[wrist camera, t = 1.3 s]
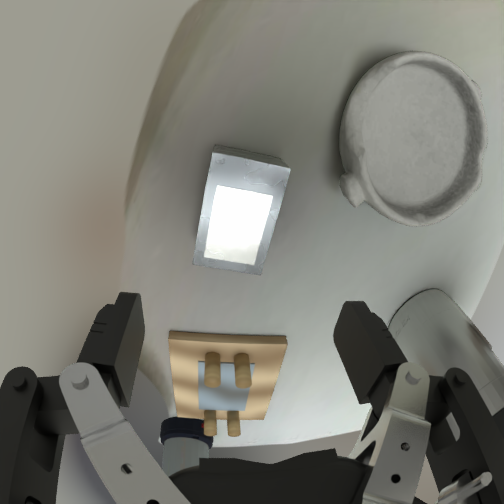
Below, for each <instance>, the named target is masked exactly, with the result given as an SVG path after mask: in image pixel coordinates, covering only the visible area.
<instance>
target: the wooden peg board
mask: <svg viewBox="0 0 504 504" xmlns="http://www.w3.org/2000/svg"><path fill="white" fill-rule="evenodd" d="M168 341H169V352H170V362H171V371H172V380H173V388H174V396H175V403H176V410H177V417H184V418H198V419H204V434H205V435H206V436H215V435H217V423H216V419H220V420H227V426H228V435H229V436H231V437H236V436H239V435H240V434H241V433H240V420H264V417H265V414H266V411H267V409H268V405H269V402H270V399H271V396H272V393H273V390H274V387H275V384H276V381H277V378H278V374H279V371H280V368H281V365H282V361H283V358H284V355H285V351H286V348H287V345H288V344H287V340H286V336H247V335H223V334H205V333H190V332H177V331H170V333H169V338H168Z"/></svg>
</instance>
